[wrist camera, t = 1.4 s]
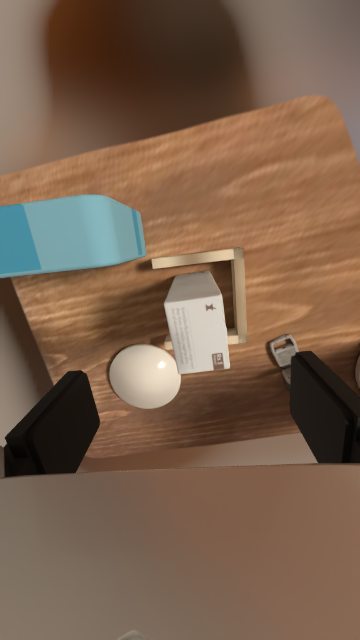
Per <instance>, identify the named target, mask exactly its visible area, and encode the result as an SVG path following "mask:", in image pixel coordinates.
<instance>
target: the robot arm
mask: <svg viewBox="0 0 360 640" xmlns="http://www.w3.org/2000/svg"><path fill="white" fill-rule="evenodd" d="M355 374H356V381H357V384H358V387H359V389H360V355H359V358H358V360H357V364H356V369H355ZM290 411H291V415H292V417H293V419H294V420H295V422H296V424H297V426H298V428H299V429H300V431H301V433H302V434H303V437H304V438H305V440H306V442H307V444H308V445H309V447H310V449H311V451H312V453H313V454H314V456H315V458H316V460H317V462H318V463H313V464H286V465H285V464H284V465H256V466H228V467H202V468H201V467H200V468H175V469H152V470H130V471H129V470H128V471H109V472H108V471H107V472H86V473H76V471H77V469H78V467H79V465H80V463H81V461H82V459H83V457H84V456H85V454H86V452H87V450H88V448H89V446H90V444H91V442H92V440H93V438H94V436H95V434H96V432H97V430H98V428H99V425H100V419H99V415H98V412H97V408H96V405H95V401H94V398H93V394H92V391H91V387H90V384H89V380H88V377H87V374H86V373H83V371H81V370H78V371H68V372H67V373H66V374H65V375H64V376H63V377H62V378H61V379H60V380H59V381H58V382H57V383H56V384H55V386H54V387H53V388H52V389H51V390H50V391H49V392H48V393H47V394H46V395H45V396H44V397H43V398H42V399H41V400H40V401H39V402H38V403H37V404H36V405H35V406H34V408H32V409H31V411H30V412H29V413H28V414H27V415H26V416H25V417H24V418H23V419H22V420H21V421H20V422H19V423H18V424H17V425H16V426H15V427H14V428H13V429H12V430H11V431H10V432H9V433H8V434H7V436H6V437H5V439H6V442H7V444H6V445H5V447H4V448H3V447H2V446H0V640H360V397H359V396H358V395H357V394H356V393H355V392H354V391H353V390H352V389H351V388H350V387H349V386H348V385H347V384H346V383H344V382H343V381H342V380H341V379H340V378H339V377H338V376H337V375H336V374H335V373H334V372H333V371H332V370H331V369H330V368H329V367H328V366H327V365H325V364H324V363H323V362H322V361H321V360H320V359H319V358H318V357H317V356H316V355H315V354H314V353H313V352H312V351H303V352H296V354H295V356H292V357H291V380H290Z"/></svg>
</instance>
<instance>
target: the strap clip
mask: <svg viewBox="0 0 360 640" xmlns="http://www.w3.org/2000/svg"><path fill="white" fill-rule="evenodd" d="M288 338H289V339H290V340H291V342H290V343H287V344H285V345H282V346H280V347H277V348H275V349H274V347H273V345H274V344H276V343H278V342H281V341H283V340H286V339H288ZM269 346H270V350H271V352H272V354H273V356H274V358H275V359H276V361H277V363H278V365H279V366H280V367H283V368H284V367H286V366H289V365H291V357H292V356H295V354H296V352H299V350H298V347H297V344H296V342H295V340H294V339H293V337H292V336H291V335H290V334H286V335H283V336H280V337H278V338H275V339H273V340H271V341H270V342H269ZM282 375H283V377H284V380H285V383H286V386H287V388H288V390H289V391H290V380H291V366H290V367H287V368H285V369H283V370H282Z"/></svg>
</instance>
